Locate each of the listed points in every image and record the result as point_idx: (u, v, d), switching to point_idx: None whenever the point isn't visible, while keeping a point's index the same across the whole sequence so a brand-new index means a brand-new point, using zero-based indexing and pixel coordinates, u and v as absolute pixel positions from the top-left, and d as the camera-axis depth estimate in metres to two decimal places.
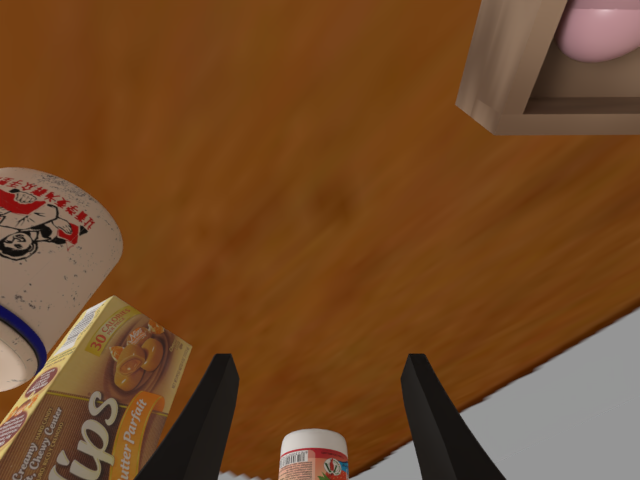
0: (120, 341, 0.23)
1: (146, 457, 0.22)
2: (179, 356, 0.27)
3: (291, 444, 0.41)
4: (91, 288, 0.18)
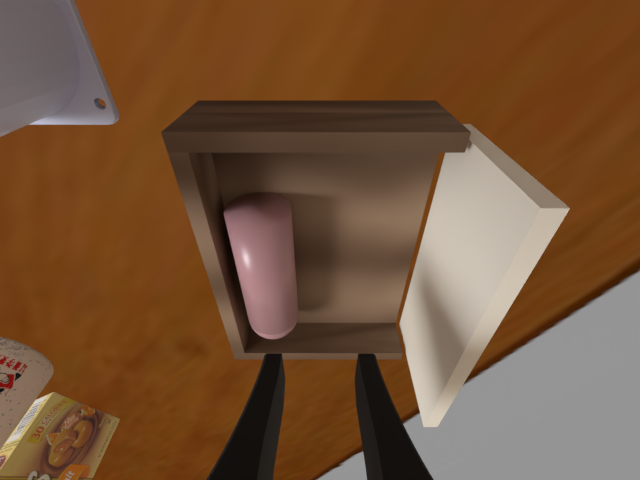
0: (56, 428, 0.33)
1: None
2: (107, 430, 0.37)
3: None
4: (25, 410, 0.28)
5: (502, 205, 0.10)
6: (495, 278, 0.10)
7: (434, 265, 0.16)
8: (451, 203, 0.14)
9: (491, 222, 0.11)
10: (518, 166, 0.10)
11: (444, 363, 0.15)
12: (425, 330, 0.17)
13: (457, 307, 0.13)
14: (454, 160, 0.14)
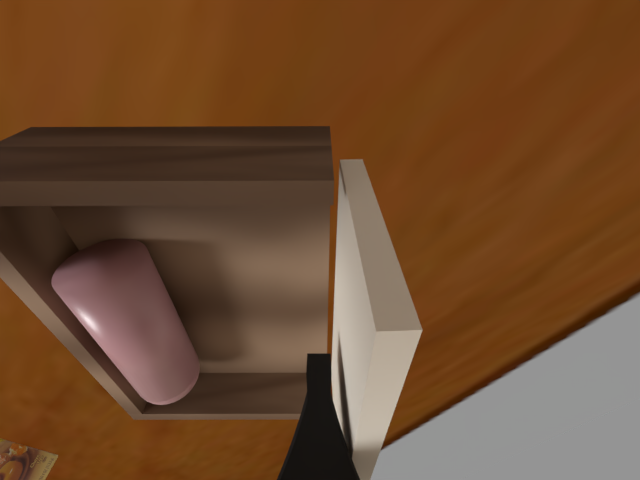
0: None
1: None
2: (40, 469, 0.34)
3: None
4: None
5: (359, 296, 0.07)
6: (359, 395, 0.07)
7: (338, 328, 0.13)
8: (341, 260, 0.11)
9: (356, 313, 0.08)
10: (386, 236, 0.07)
11: None
12: (338, 401, 0.14)
13: (347, 399, 0.10)
14: (341, 207, 0.10)
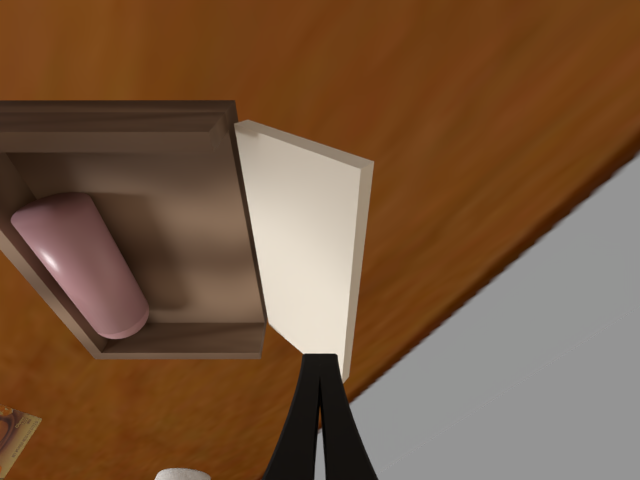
0: None
1: None
2: (25, 430, 0.37)
3: None
4: None
5: (326, 178, 0.11)
6: (348, 237, 0.12)
7: (281, 255, 0.17)
8: (271, 194, 0.14)
9: (322, 195, 0.12)
10: (316, 143, 0.12)
11: (335, 326, 0.16)
12: (301, 312, 0.18)
13: (324, 276, 0.15)
14: (254, 156, 0.14)
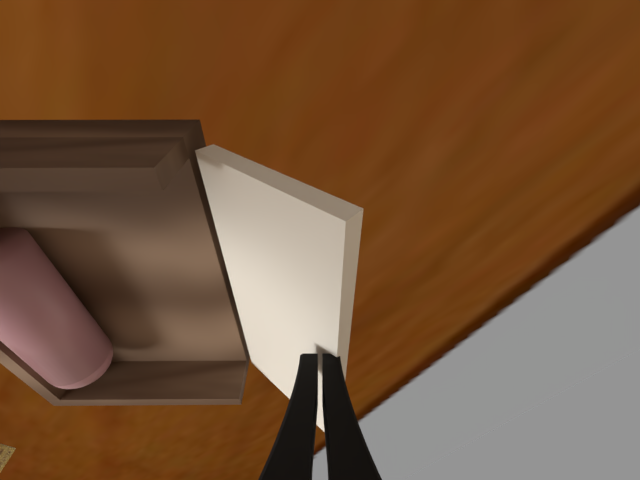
0: None
1: None
2: None
3: None
4: None
5: (303, 225, 0.09)
6: (333, 294, 0.10)
7: (258, 298, 0.14)
8: (242, 233, 0.12)
9: (300, 244, 0.10)
10: (292, 179, 0.10)
11: None
12: (284, 359, 0.16)
13: (307, 330, 0.12)
14: (220, 189, 0.11)
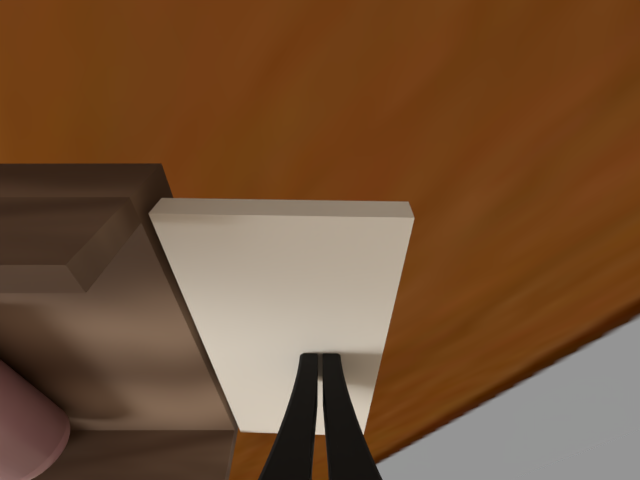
0: None
1: None
2: None
3: None
4: None
5: (353, 242, 0.08)
6: (386, 295, 0.10)
7: (264, 352, 0.12)
8: (244, 288, 0.10)
9: (346, 263, 0.09)
10: (314, 201, 0.09)
11: (358, 388, 0.14)
12: None
13: (343, 347, 0.12)
14: (203, 249, 0.09)
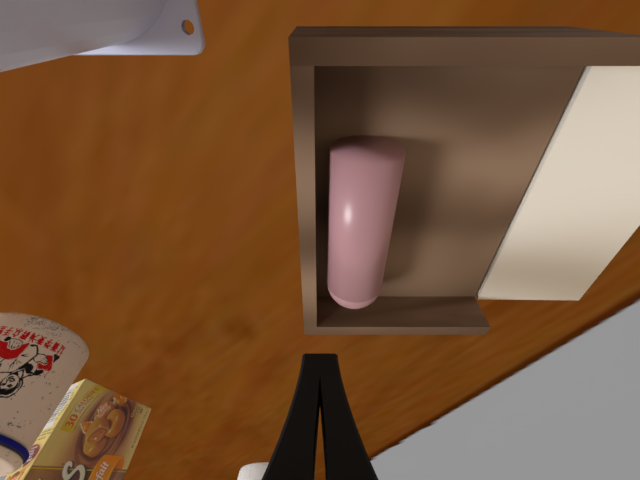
0: (89, 416, 0.31)
1: None
2: (139, 420, 0.35)
3: (244, 476, 0.48)
4: (62, 394, 0.26)
5: None
6: None
7: (574, 193, 0.16)
8: (612, 121, 0.14)
9: None
10: None
11: (617, 236, 0.18)
12: (564, 248, 0.18)
13: None
14: (613, 80, 0.13)
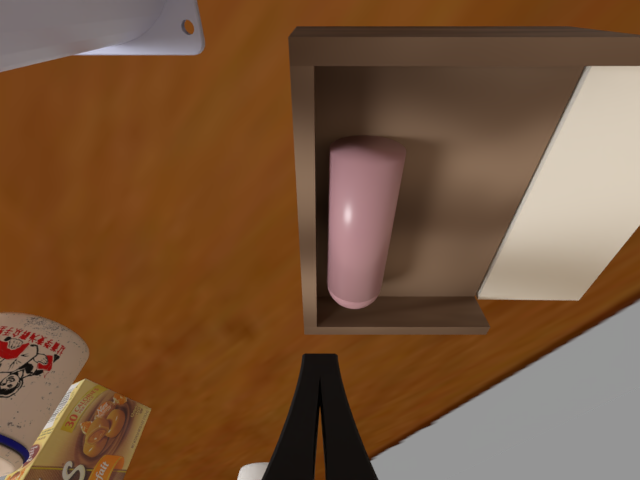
0: (89, 416, 0.31)
1: None
2: (139, 420, 0.35)
3: (244, 476, 0.48)
4: (63, 394, 0.26)
5: None
6: None
7: (574, 193, 0.16)
8: (612, 121, 0.14)
9: None
10: None
11: (617, 236, 0.18)
12: (564, 248, 0.18)
13: None
14: (613, 80, 0.13)
